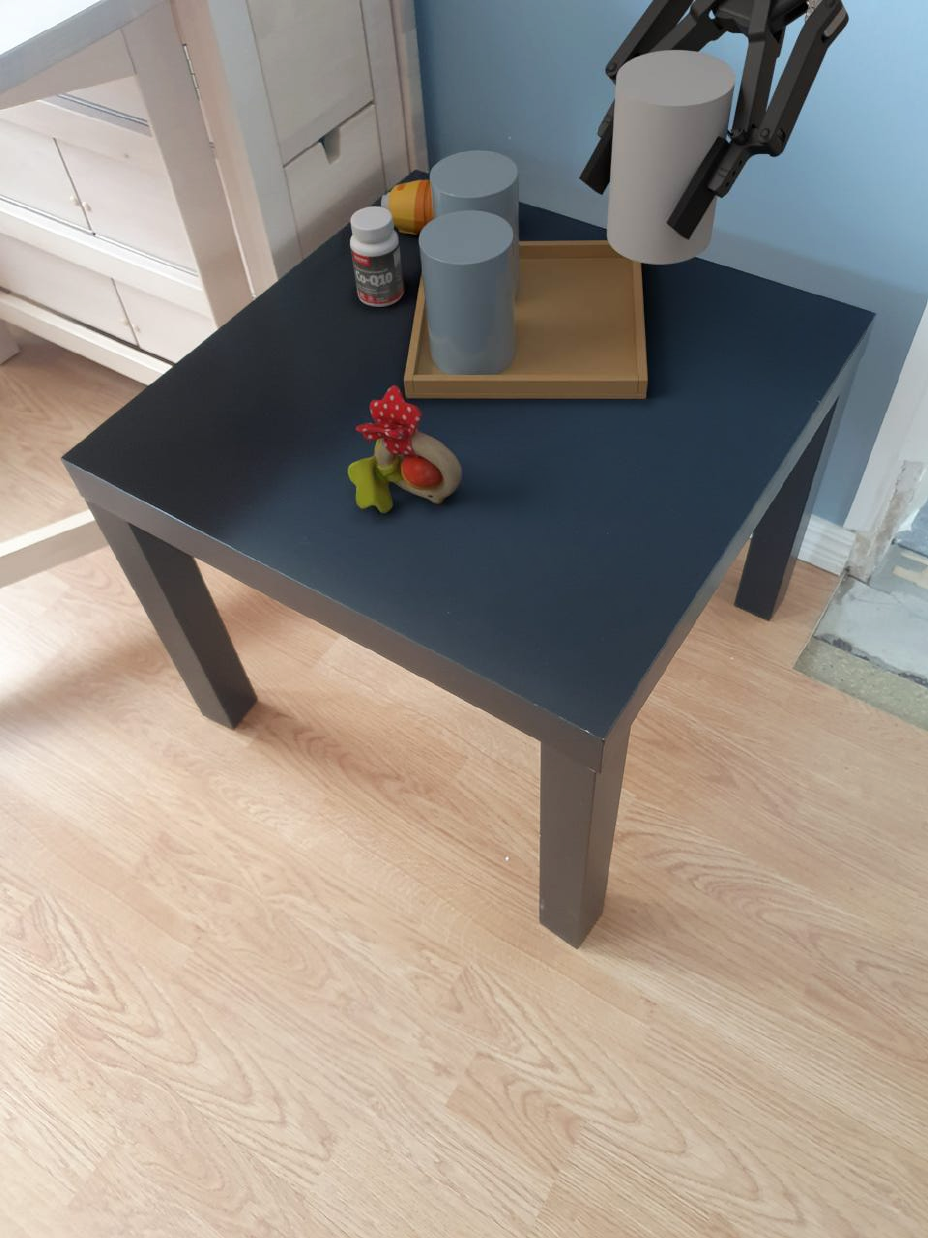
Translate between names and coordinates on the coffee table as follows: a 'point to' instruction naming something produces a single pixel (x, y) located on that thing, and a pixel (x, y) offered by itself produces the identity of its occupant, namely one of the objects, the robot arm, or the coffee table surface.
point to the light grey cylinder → (663, 149)
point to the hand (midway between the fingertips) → (633, 208)
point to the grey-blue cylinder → (479, 190)
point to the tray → (556, 331)
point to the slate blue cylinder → (469, 292)
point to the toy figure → (410, 206)
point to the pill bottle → (376, 257)
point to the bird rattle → (424, 457)
